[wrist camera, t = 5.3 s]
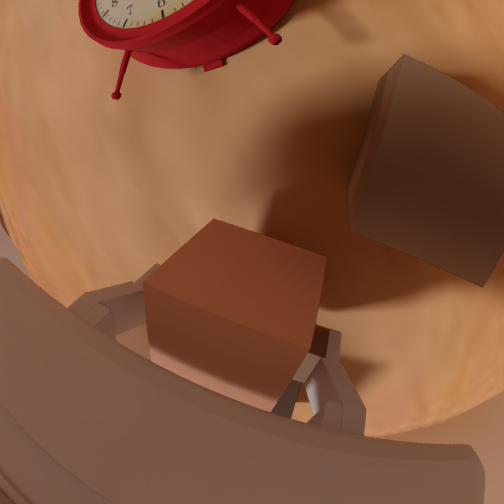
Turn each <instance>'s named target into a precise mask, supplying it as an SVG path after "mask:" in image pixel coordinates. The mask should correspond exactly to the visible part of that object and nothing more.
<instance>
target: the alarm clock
mask: <svg viewBox="0 0 504 504" xmlns="http://www.w3.org/2000/svg"><path fill="white" fill-rule="evenodd" d="M294 1H295V0H79V19H80V23H81V26H82V28H83V30H84V31H85V33H86V34H87V35H88V36H89V37H90V38H92V39H93V40H94V41H96V42H98V43H99V44H101V45H103V46H105V47H109V48H113V49H121V50H125V53H124V56H123V60H122V63H121V67H120V71H119V77H118V81H117V85H116V90H115V92H114V93H112V96H111V97H112V99H120V98H121V93H120V88H121V84H122V81H123V77H124V74H125V72H126V69H127V65H128V62H129V59H130V56H131V57H133V58H134V59H136V60H137V61H139V62H141V63H144V64H147V65H150V66H154V67H160V68H167V69H183V68H191V67H197V66H201V65H203V68H204V71H205V72H206V71H209V70H213V69H216V68H219V67H223V64H222V59H223V58H225V57H227V56H230V55H232V54H234V53H236V52H238V51H240V50H241V49H243V48H245V47H247V46H248V45H250V44H251V43H253V42H254V41H256V40H257V39H259V38H260V37H261V36H263V35H264V34H265V33H266V34H267V35H268V36H269V39H268V41H269V42H270V44H272V45H278V44H279V43H281V41H282V37H281V36H280V35H279V34H274V33H273V32H272V31H271V30H270V29H271V28H272V27H273V26H274V25H275V24H277V23H278V22H279V20H280V19H281V18H282V17H283V16H284V15H285V14H286V13H287V11H288V10H289V8H290V7H291V5H292V4H293V2H294Z"/></svg>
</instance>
